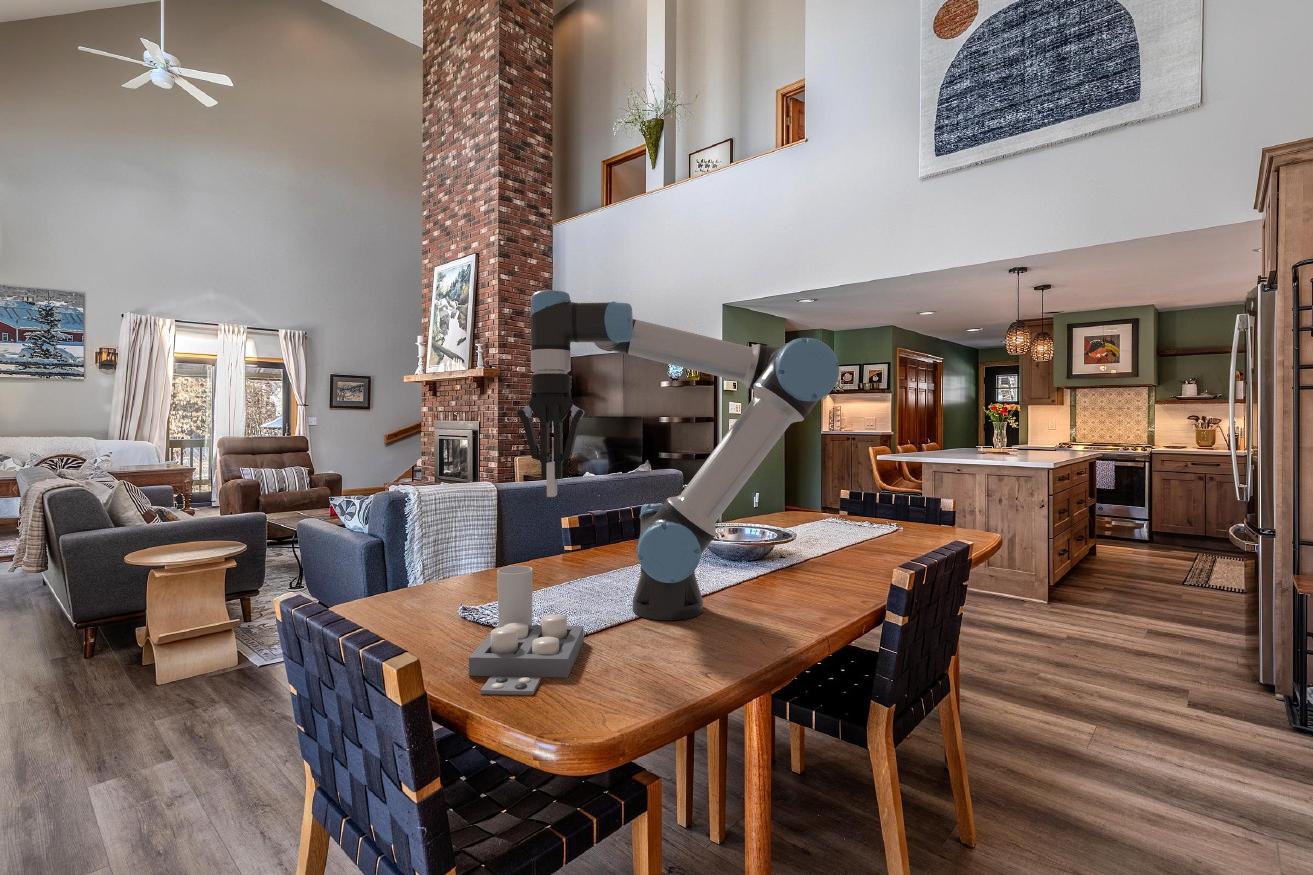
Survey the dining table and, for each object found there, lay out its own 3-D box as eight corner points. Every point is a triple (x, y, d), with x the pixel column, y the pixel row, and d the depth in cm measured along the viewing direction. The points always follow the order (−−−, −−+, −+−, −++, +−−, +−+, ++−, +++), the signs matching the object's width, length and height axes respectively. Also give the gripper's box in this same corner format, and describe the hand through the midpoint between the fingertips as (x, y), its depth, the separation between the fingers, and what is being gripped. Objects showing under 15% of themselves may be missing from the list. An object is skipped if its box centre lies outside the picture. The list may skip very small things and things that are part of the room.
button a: (568, 634, 115) (568, 614, 115) (564, 642, 111) (564, 622, 111) (544, 633, 116) (544, 614, 116) (539, 642, 111) (539, 622, 111)
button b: (530, 642, 116) (530, 622, 116) (524, 651, 111) (524, 630, 111) (506, 641, 116) (506, 622, 116) (499, 650, 112) (499, 630, 112)
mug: (537, 633, 122) (536, 571, 122) (501, 638, 119) (501, 575, 119) (524, 618, 131) (524, 560, 131) (491, 623, 129) (490, 564, 128)
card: (540, 680, 100) (540, 676, 100) (533, 694, 95) (533, 689, 95) (490, 680, 101) (490, 675, 101) (480, 693, 96) (480, 688, 96)
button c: (561, 657, 109) (561, 636, 108) (556, 667, 104) (556, 646, 104) (535, 657, 109) (535, 636, 109) (529, 667, 104) (529, 645, 104)
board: (583, 641, 118) (583, 625, 118) (567, 677, 102) (567, 658, 102) (498, 640, 118) (498, 624, 118) (469, 675, 102) (468, 657, 102)
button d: (520, 647, 109) (520, 626, 109) (513, 657, 104) (513, 635, 104) (495, 647, 109) (495, 626, 109) (487, 657, 105) (487, 635, 104)
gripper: (587, 374, 126) (588, 493, 126) (522, 374, 126) (523, 493, 127) (581, 372, 118) (582, 498, 119) (512, 372, 119) (513, 498, 119)
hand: (552, 495), depth 123 cm, fingers closed
